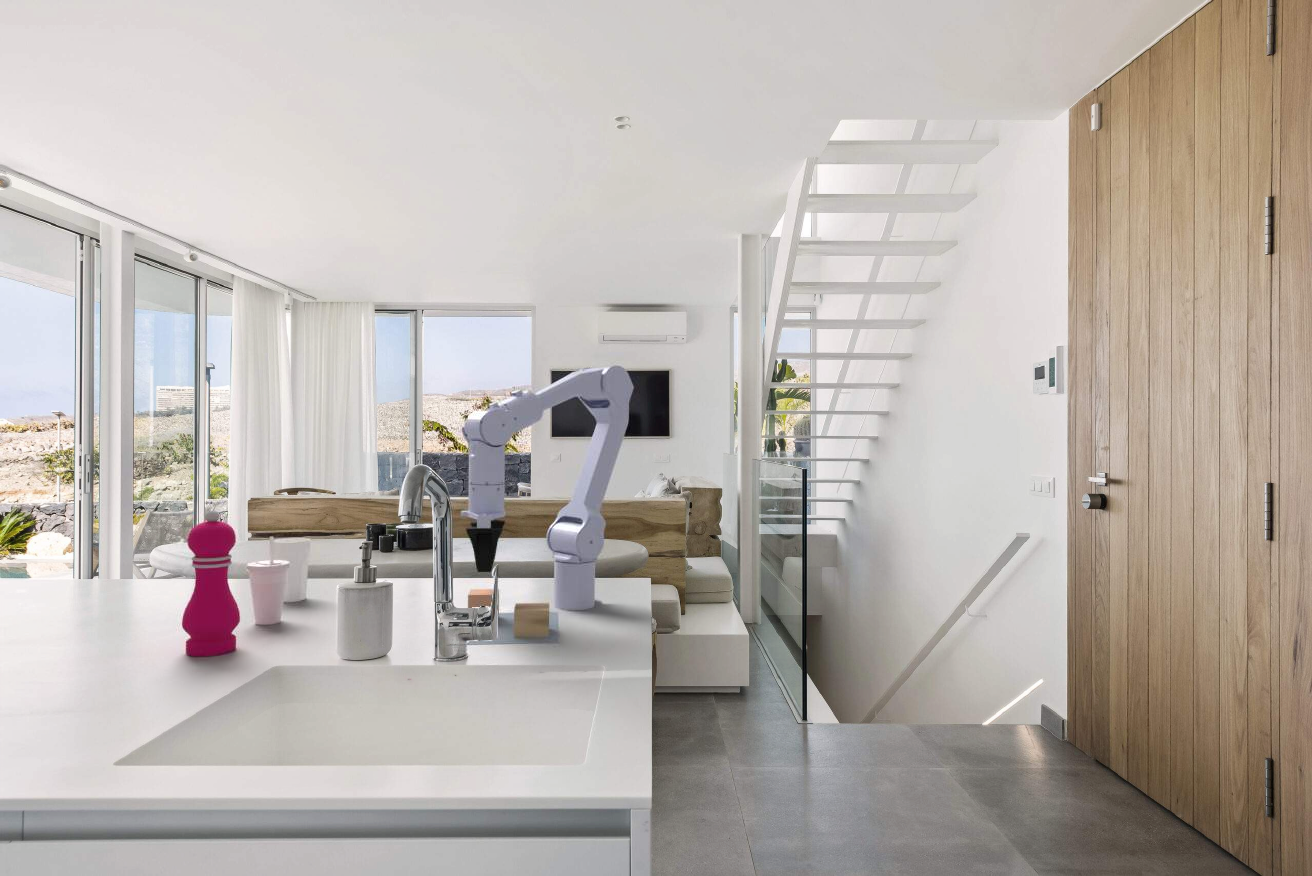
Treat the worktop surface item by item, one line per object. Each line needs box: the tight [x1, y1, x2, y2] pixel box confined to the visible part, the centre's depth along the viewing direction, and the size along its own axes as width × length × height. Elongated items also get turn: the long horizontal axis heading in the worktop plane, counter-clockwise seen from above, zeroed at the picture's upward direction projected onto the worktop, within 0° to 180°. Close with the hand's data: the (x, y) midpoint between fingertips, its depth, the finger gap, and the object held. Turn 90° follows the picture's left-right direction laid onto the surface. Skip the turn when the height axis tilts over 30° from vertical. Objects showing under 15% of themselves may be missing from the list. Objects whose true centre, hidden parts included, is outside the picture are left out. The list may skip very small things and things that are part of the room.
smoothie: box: [246, 536, 290, 626], centre depth 131 cm, size 6×6×14 cm
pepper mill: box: [181, 509, 241, 658], centre depth 114 cm, size 7×7×20 cm
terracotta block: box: [467, 588, 500, 618], centre depth 131 cm, size 5×5×5 cm
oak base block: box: [513, 602, 550, 638], centre depth 123 cm, size 5×5×4 cm
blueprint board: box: [466, 611, 560, 646], centre depth 126 cm, size 20×16×1 cm
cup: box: [273, 537, 311, 603], centre depth 149 cm, size 7×7×11 cm
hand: (485, 567), depth 130 cm, fingers open, 7 cm apart
